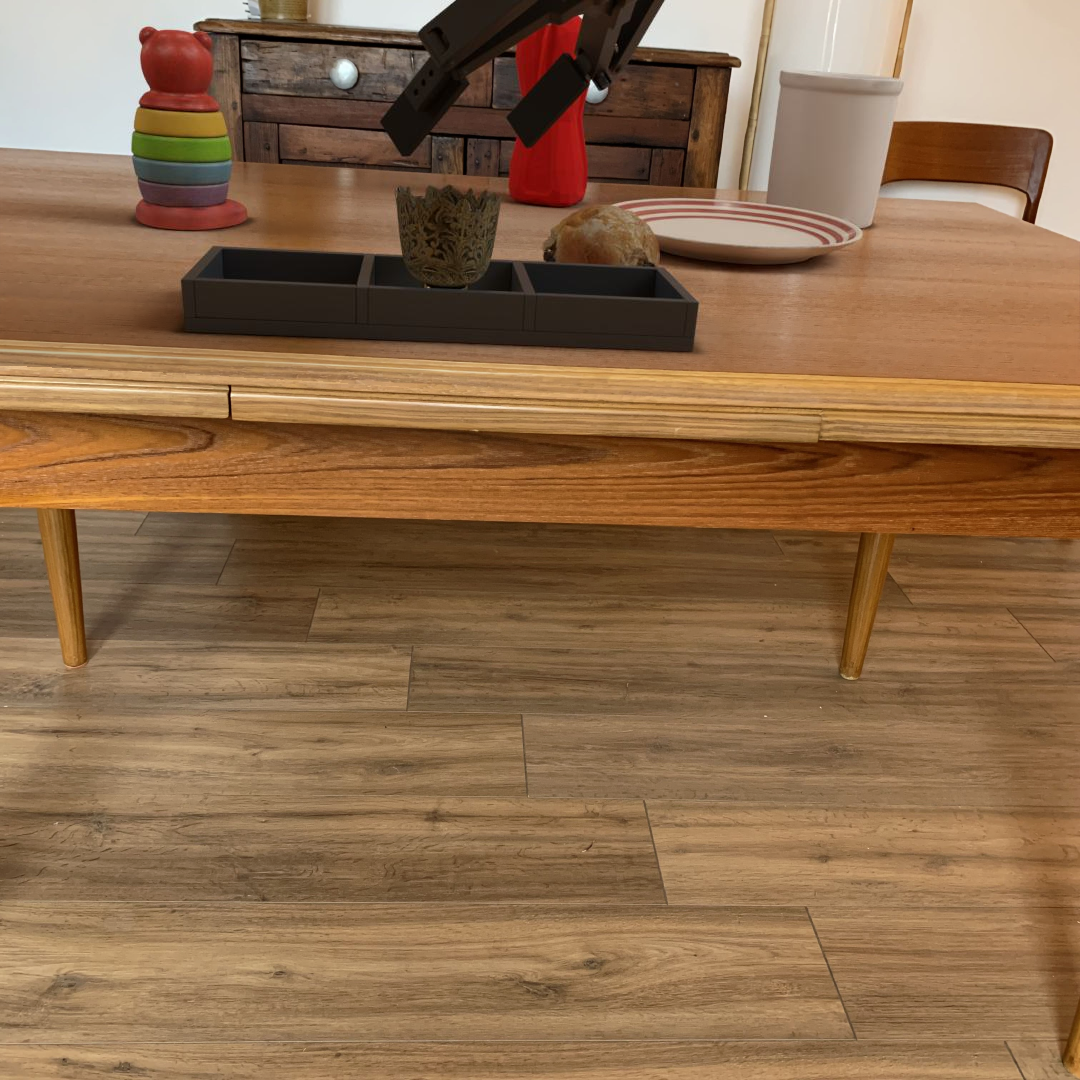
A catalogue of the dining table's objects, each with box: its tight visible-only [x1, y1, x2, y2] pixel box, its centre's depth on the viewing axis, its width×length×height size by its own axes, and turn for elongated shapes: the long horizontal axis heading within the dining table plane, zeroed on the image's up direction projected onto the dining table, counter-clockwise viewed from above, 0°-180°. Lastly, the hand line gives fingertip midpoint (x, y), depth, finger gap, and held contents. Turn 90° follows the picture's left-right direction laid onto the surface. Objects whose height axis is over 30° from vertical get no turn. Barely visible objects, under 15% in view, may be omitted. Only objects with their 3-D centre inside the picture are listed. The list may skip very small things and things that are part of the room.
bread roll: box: [541, 204, 661, 267], centre depth 98 cm, size 10×10×8 cm
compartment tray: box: [180, 245, 700, 353], centre depth 79 cm, size 35×12×4 cm, turn 95°
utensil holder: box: [765, 69, 905, 229], centre depth 138 cm, size 15×15×18 cm
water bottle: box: [508, 15, 591, 208], centre depth 134 cm, size 9×11×25 cm
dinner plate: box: [611, 197, 864, 266], centre depth 117 cm, size 28×27×3 cm
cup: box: [394, 183, 502, 290], centre depth 78 cm, size 8×7×8 cm
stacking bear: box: [130, 26, 248, 231], centre depth 106 cm, size 11×10×18 cm
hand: (460, 136), depth 74 cm, fingers open, 13 cm apart
